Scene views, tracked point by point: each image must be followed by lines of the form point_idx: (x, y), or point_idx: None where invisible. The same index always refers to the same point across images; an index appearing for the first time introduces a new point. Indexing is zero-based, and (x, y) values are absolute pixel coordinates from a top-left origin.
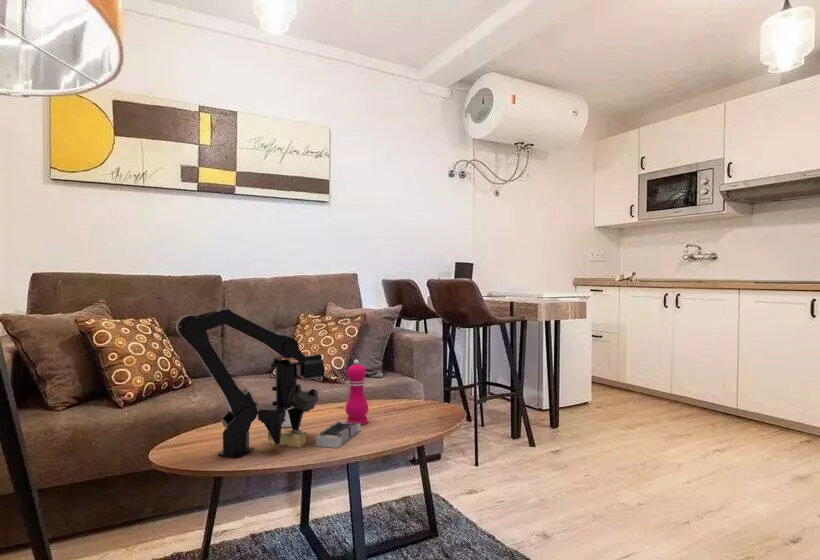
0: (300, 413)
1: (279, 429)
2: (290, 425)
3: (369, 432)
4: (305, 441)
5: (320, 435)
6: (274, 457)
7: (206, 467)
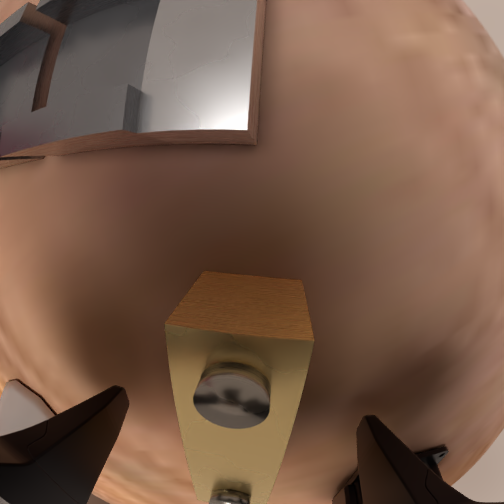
0: (22, 473)
1: (438, 489)
2: (47, 415)
3: None
4: (205, 278)
5: (174, 104)
6: (479, 338)
7: (482, 449)
